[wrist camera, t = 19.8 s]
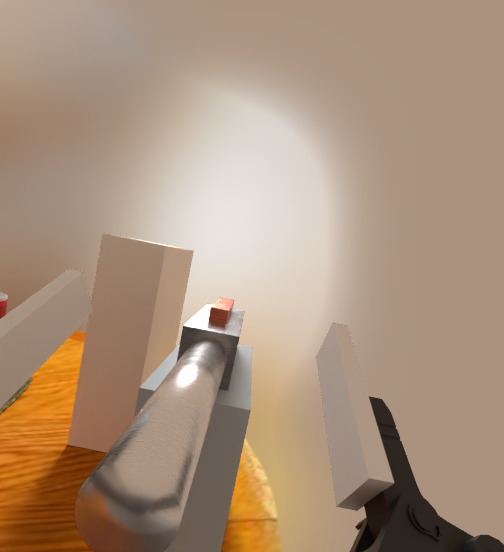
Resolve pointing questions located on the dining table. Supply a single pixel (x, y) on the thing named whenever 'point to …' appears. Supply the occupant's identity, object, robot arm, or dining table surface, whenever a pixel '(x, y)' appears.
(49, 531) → the dining table surface
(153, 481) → the grey piece
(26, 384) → the washcloth
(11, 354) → the robot arm
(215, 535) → the low stand
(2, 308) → the canned food
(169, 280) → the tall stand
